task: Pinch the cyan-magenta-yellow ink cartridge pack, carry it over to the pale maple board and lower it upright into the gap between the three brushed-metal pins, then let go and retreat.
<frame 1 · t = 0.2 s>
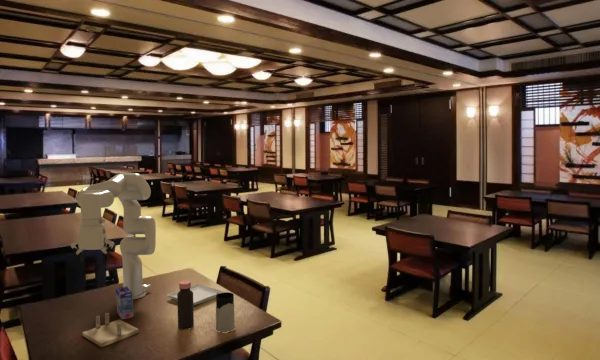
hand: (93, 262, 170), 31 cm above the table, tool pointing down, fingers open, 9 cm apart
ink cartridge box: (124, 315, 191), on the table
salad plate: (195, 299, 213), on the table
glass holder: (223, 326, 179), on the table
pin board: (111, 334, 172), on the table
bottle: (186, 326, 179), on the table
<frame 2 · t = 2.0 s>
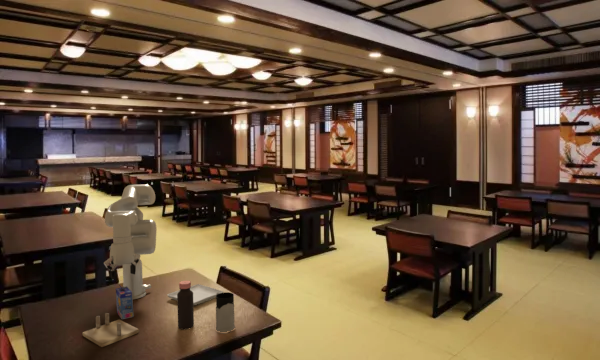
hand: (123, 276, 189), 19 cm above the table, tool pointing down, fingers open, 9 cm apart
nothing on the table moved.
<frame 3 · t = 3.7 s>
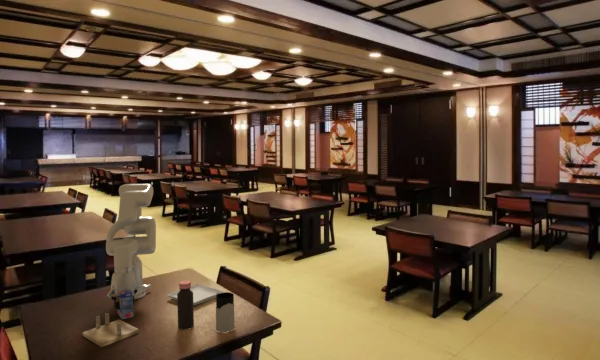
hand: (124, 306, 191), 4 cm above the table, tool pointing down, fingers closed on ink cartridge box, 6 cm apart
ink cartridge box: (124, 315, 191), on the table, touching gripper
everything else where it was.
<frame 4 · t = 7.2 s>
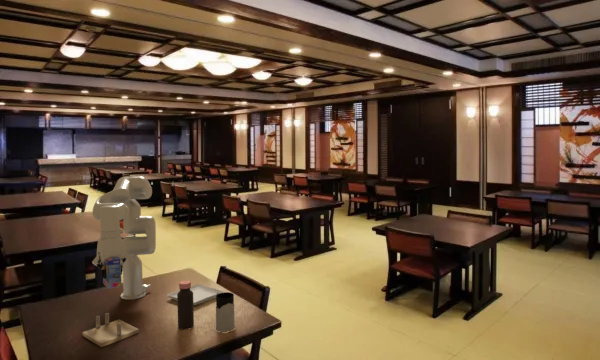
hand: (111, 275, 173), 24 cm above the table, tool pointing down, fingers closed on ink cartridge box, 6 cm apart
ink cartridge box: (111, 285, 174), point 20 cm above the table, touching gripper
everything else where it was.
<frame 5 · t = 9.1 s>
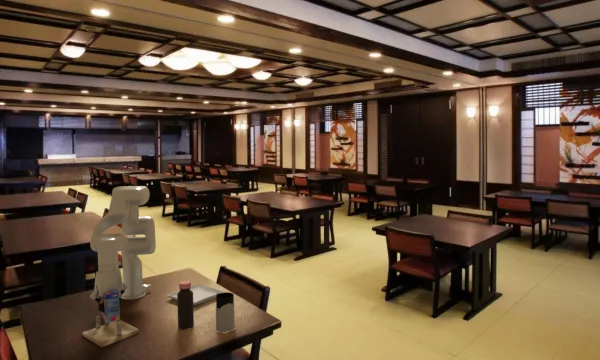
hand: (110, 308, 171), 11 cm above the table, tool pointing down, fingers closed on ink cartridge box, 6 cm apart
ink cartridge box: (110, 318, 171), point 7 cm above the table, touching gripper
everything else where it was.
when the fingers open (7 cm above the table, at t = 10.8 s): ink cartridge box drops 1 cm, resting on pin board.
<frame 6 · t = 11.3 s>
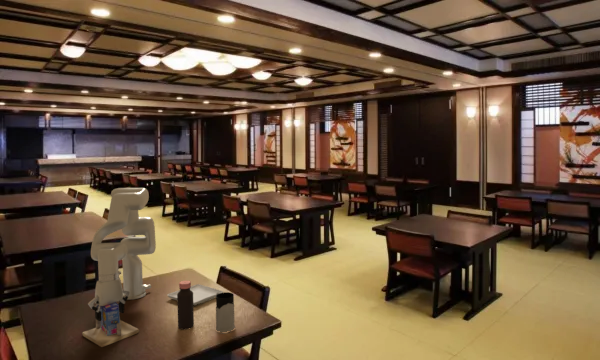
hand: (110, 316, 171), 8 cm above the table, tool pointing down, fingers open, 9 cm apart
ink cartridge box: (110, 331, 172), point 1 cm above the table, touching pin board
everything else where it was.
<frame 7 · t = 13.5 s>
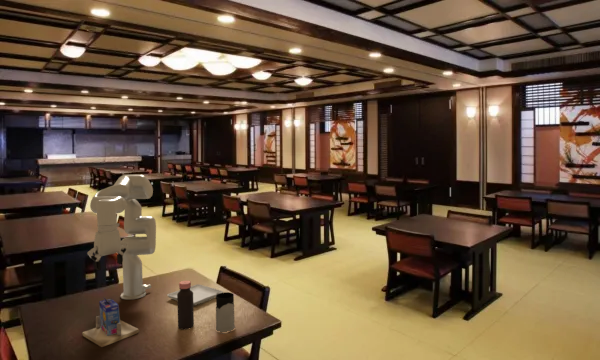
hand: (109, 266, 176), 27 cm above the table, tool pointing down, fingers open, 9 cm apart
nothing on the table moved.
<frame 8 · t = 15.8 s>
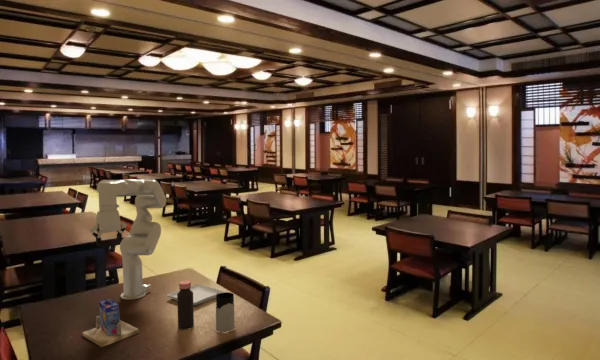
hand: (109, 243, 192), 33 cm above the table, tool pointing down, fingers open, 9 cm apart
nothing on the table moved.
at the end: ink cartridge box 0.4 cm off-centre on the pin board, point 1.3 cm above the pin board's base; ink cartridge box tilted 0°; the gripper is holding nothing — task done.
